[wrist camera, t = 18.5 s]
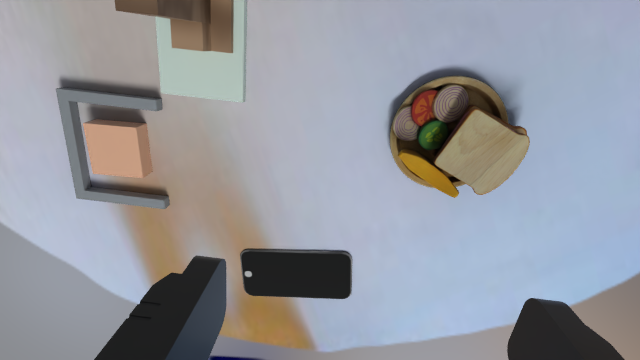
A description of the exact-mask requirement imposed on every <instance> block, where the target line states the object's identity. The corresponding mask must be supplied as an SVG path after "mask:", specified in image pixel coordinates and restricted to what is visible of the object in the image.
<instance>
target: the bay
mask: <svg viewBox="0 0 640 360" xmlns="http://www.w3.org/2000/svg"><path fill="white" fill-rule="evenodd" d="M56 92H57V98H58V103H59V108H60V114H61V119H62V124H63V129H64V135H65V140H66V145H67V151H68V156H69V161H70V166H71V172H72V177H73V182H74V188H75V193H76V198H78V199H86V200H94V201H102V202H110V203H119V204H127V205H135V206H143V207H151V208H160V209H165V208H167V207H168V206H169V196H161V195H153V194H145V193H137V192H128V191H120V190H112V189H104V188H95V187H91V183H90V177H89V171H88V165H87V160H86V154H85V148H84V142H83V136H82V130H81V124H80V118H79V112H78V106H77V102H82V103H91V104H99V105H108V106H116V107H125V108H134V109H142V110H151V111H159V110H162V99H160V98H152V97H143V96H134V95H126V94H117V93H108V92H100V91H91V90H83V89H74V88H65V87H63V88H57V89H56Z"/></svg>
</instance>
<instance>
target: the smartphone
mask: <svg viewBox="0 0 640 360" xmlns="http://www.w3.org/2000/svg"><path fill="white" fill-rule="evenodd" d="M240 259H241V267H242V276H243V284H244V290H245V292H246V293H247V294H249V295H252V296H275V297H302V298H330V299H345V298H348V297H349V296H350V295H351V287H352V257H351V255H350V254H349V253H347V252H344V251H309V250H266V249H246V250H244V251H243V252H242V253H241V255H240Z"/></svg>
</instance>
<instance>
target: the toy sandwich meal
mask: <svg viewBox="0 0 640 360" xmlns="http://www.w3.org/2000/svg"><path fill="white" fill-rule="evenodd" d="M529 143H530V140H529V137H528V136H527V132H526V129H524V128H523V127H520V126H512V125H510V124H508V116H507V111H506V108H505V106H504V104H503V102H502V100H501V98H500V97H499V96H498V94H497V93H496V92H495V91H494V90H493V89H492V88H491V87H490V86H488V85H487V84H485V83H483V82H481V81H479V80H477V79H474V78H470V77H465V76H447V77H442V78H438V79H435V80H432V81H430V82H428V83H426V84H424V85H422V86H421V87H419V88H418V89H416V90H415V91H414V92H413V93H411V94H410V95H409V96H408V97H407V98H406V99H405V101H404V102H403V103H402V105H401V106H400V107H399V109H398V111H397V113H396V115H395V117H394V120H393V123H392V126H391V132H390V147H391V152H392V155H393V158H394V160H395V162H396V164H397V166H398V167H399V168H400V170H401V171H402V172H403V173H404V174H405V175H406V176H407V177H408V178H410V179H411V180H413V181H414V182H416V183H418V184H421V185H423V186H427V187H431V188H436V189H438V190H440V191H442V192H444V193H446V194H447V195H449V196H451V197H454V198H455V197H457V196H458V194H459V192H458V190H457V188H456V187H458V186H461V185H464V184H467V185H469V186H470V187H472V188H473V190H474V192H475V193H476V194H479V195H483V194H486V193H488V192H490V191H492V190H494V189H495V188H497V187H498V186H500V185H501V184H502V183H503V182H504V181H506V180H507V179H508V178H509V177H510V176H511V175H512V174H513V172H514V171H515V170H516V169H517V167H518V166H519V164H520V163H521V162H522V160H523V158H524V157H525V155H526V153H527V150H528V147H529Z"/></svg>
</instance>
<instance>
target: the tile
mask: <svg viewBox="0 0 640 360" xmlns="http://www.w3.org/2000/svg"><path fill="white" fill-rule="evenodd" d="M83 126H84V131H85V136H86V141H87V146H88V151H89V156H90V161H91V166H92V171H93V174H103V175H114V176H126V177H137V178H144V177H145V176H147V175H148V174H150V173H151V172H153V171H152V163H151V155H150V147H149V139H148V131H147V124H146V123H135V122H123V121H111V120H99V119H95V120H92V121H89V122H85V123H83Z"/></svg>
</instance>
